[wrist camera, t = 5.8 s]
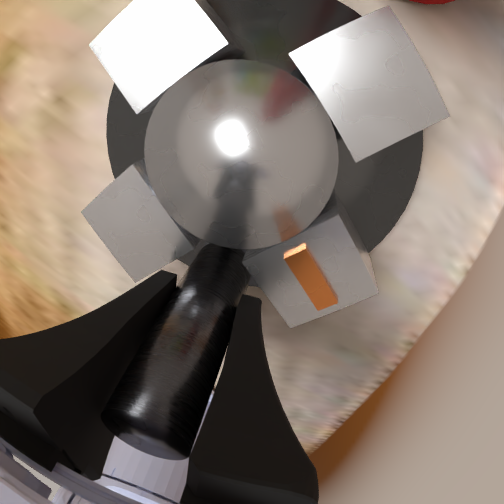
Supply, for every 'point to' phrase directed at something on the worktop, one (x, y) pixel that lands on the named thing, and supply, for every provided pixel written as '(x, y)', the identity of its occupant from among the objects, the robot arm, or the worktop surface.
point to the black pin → (180, 358)
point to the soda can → (432, 1)
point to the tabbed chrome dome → (255, 147)
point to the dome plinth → (277, 54)
